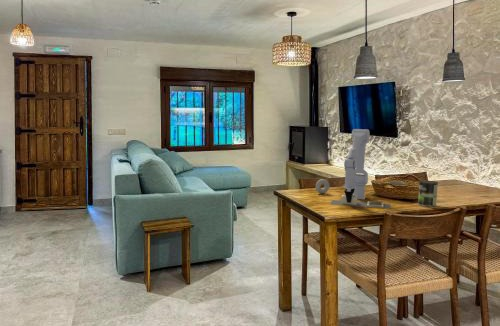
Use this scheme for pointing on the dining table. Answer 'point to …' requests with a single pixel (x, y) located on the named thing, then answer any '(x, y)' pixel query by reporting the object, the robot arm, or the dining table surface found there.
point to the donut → (318, 186)
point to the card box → (353, 200)
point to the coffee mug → (397, 183)
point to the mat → (360, 204)
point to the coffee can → (427, 193)
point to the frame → (374, 205)
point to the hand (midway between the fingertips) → (349, 201)
